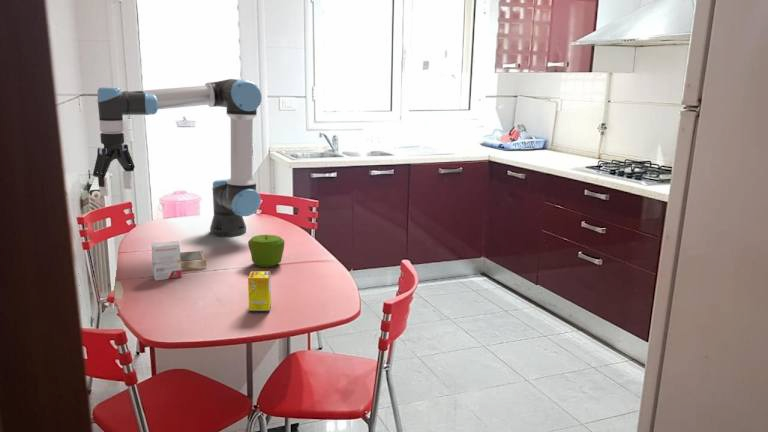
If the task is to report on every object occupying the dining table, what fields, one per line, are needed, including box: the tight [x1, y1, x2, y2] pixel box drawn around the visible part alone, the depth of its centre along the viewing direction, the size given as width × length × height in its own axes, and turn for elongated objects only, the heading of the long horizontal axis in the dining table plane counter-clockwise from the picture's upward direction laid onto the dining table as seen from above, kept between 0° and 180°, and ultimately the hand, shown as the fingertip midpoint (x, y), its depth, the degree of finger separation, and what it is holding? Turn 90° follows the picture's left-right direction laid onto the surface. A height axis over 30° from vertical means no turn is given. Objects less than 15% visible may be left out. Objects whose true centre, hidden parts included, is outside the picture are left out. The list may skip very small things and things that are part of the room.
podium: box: [180, 250, 207, 272], centre depth 215 cm, size 12×12×3 cm
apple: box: [247, 234, 285, 269], centre depth 217 cm, size 12×12×11 cm
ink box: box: [151, 240, 183, 281], centre depth 201 cm, size 9×5×12 cm, turn 116°
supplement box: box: [247, 270, 272, 314], centre depth 176 cm, size 6×6×11 cm
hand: (116, 192), depth 215 cm, fingers open, 13 cm apart
